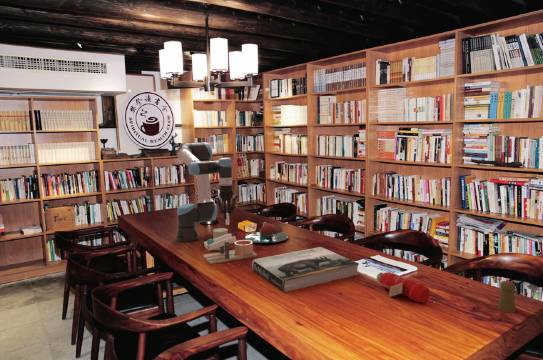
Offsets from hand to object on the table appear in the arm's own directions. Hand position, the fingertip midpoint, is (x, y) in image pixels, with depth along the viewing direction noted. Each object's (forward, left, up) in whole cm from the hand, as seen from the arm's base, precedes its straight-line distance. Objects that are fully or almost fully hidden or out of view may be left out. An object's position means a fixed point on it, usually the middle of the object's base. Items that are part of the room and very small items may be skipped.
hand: (227, 224), depth 234 cm
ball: (+8, -13, -7) cm, 17 cm away
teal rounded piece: (-16, +31, -17) cm, 39 cm away
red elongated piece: (+92, +47, -18) cm, 105 cm away
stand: (+8, -2, -17) cm, 19 cm away
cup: (+8, +7, -16) cm, 19 cm away
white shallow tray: (+5, -7, -9) cm, 12 cm away
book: (+50, +23, -18) cm, 58 cm away
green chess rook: (+122, +73, -17) cm, 144 cm away
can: (-11, -2, -17) cm, 20 cm away
